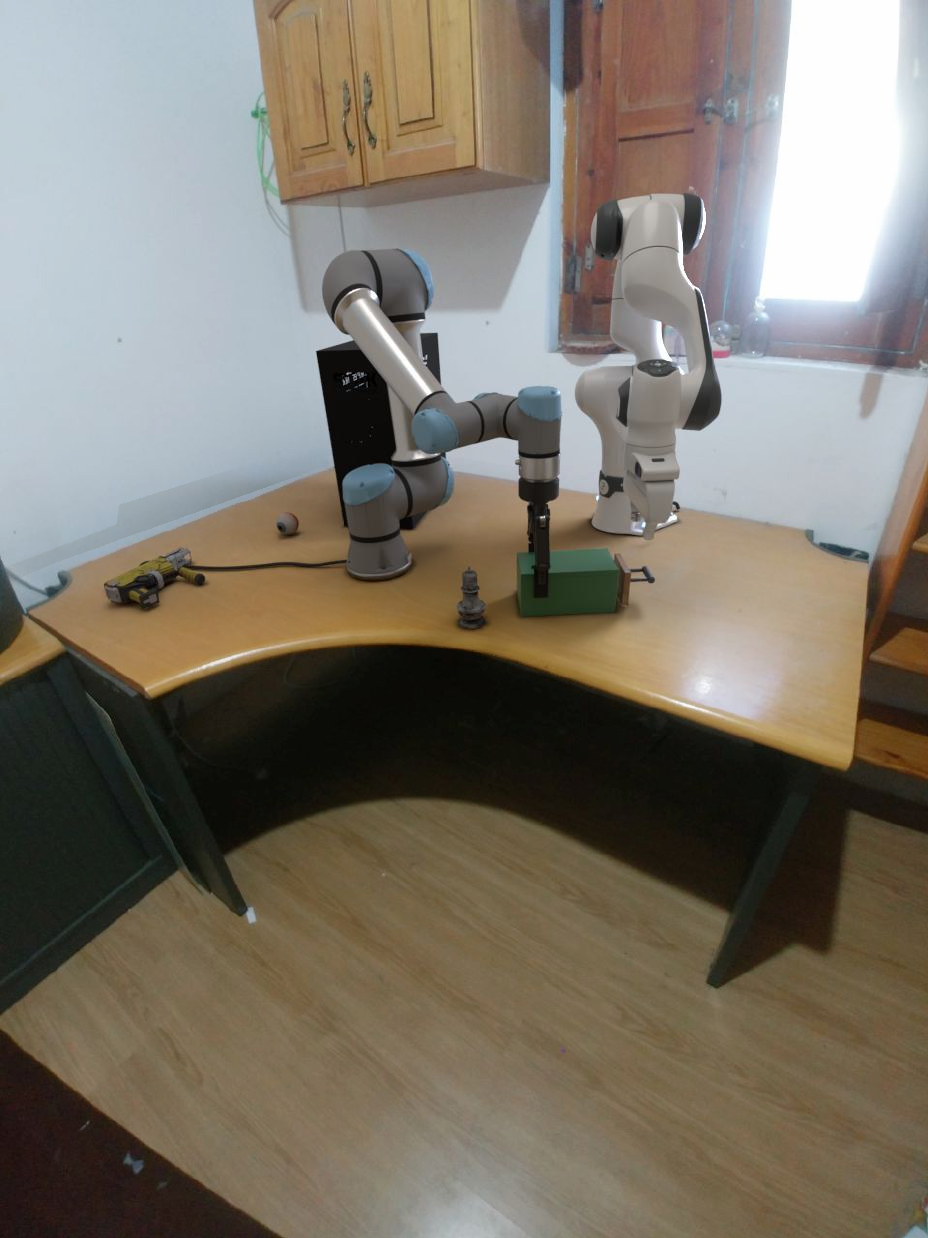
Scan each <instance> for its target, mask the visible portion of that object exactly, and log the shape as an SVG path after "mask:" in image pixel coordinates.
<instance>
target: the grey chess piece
mask: <svg viewBox="0 0 928 1238" xmlns="http://www.w3.org/2000/svg"><path fill="white" fill-rule="evenodd" d="M461 583H462V586H461V587H460V590H461V592H462V600H459V602H457V603H456V604H455V608H456V610H457V612H458V614H459V616H460V618H459V619H458V624H459V626H460V627H462V628H464V629H478V628H480V627H482V626H484V625H485V623H486V618H485V617H484V616H483V615H484V613H485V611H486V610H485V609H486V608H487V603H486V602H485V601H484V600H482V599H480V597H479V596H480V595H479V591H480V589H481V587H480V586H479V585H478V583H479V582H478V573H477V571H475V570H473V569H472V568H471V566H469V565H468V567H467V569H466V570H464V571H463V572H462V574H461Z"/></svg>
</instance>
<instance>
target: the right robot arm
mask: <svg viewBox="0 0 928 1238" xmlns="http://www.w3.org/2000/svg"><path fill="white" fill-rule="evenodd" d="M705 226H706V211H705V203H704V201H703V199H702V198H701V196H700V195H698V194H694V193H691V192H683V193H682V194H678V193H649V194H648V195H639V196H633V197H632V196H631V197H628V198H623V199H619V200H618V198H613V199H610V200H607V201H605V202H603V203H601V204H600V205H599V207H598V208H597V209H596V212H595V215H594V217H593V220H592V222H591V227H590V241H591V245H592V248H593V250H594V254H595V255H596V256H597V257H598V258H599V259H600V260H603V261H610V262H612V261H614V260H617V263H616V266H615V272H614V277H613V284H612V294H611V307H610V309H611V310H610V322H609V323H610V324H609V335H610V338H611V340H612V342H613V343H614V344H615V345H617V346H618V347H620V348H621V349H624V350H625V351H628V352H629V353H631V354H633V356H634V357H635V363H634V364H632V365H614V366H611V365H609V366H608V365H607V366H601V367H595V368H592V369H587V370H585V371H583V372H582V373H581V375H580V376H579V377H578V379H577V381H576V384H575V386H574V400H575V403H576V405H577V407H578V408H579V410H580V411H581V412H582V413H583V414H584V415H586V416H587V417H588V418H589V419H590V420H591V421H592V422H593V424H594V425H595V427H596V429H597V431H598V434H599V436H600V437H599V438H600V443H601V468H600V470H599V474H598V492H599V493H598V495H596V501H597V502H596V507H595V511H594V514H593V517H592V520H591V525H592V526H593V527H594V528H595V529H597V530H599V531H601V532H605V533H611V534H623V535H625V534H626V535H632V536H633V535H634V536H642V538H643V540H645V541H652V540H654V539H655V531H657V530H660V529H662V528H665V527H668V526H670V525H672V524H675V523H677V522H678V516H677V515H676V514H675V513H674V512H672V510H673V506H675V509H676V510H680V509H681V507H680V504H679V502H677V501H675V500H674V497H675V491H676V490H675V489H676V483H675V482H676V481H675V480H678V479H680V472H681V468H680V465H679V463H678V460H677V455H676V454H677V453H676V444H677V436H676V430H684V431H695V432H697V431H698V432H700V431H702V430H704V429H706V428H707V427H708V426H710V425H711V424H712V423H713V422H714V421H715V420H716V419H718V417H719V416H720V413H721V408H722V402H723V393H722V388H721V384H720V380H719V377H718V373H717V369H716V365H715V357H714V353H713V345H712V340H711V334H710V333H711V332H710V327H709V321H708V317H707V311H706V305H705V302H704V298H703V293H702V292H701V290H700V288H698V287H696V286H695V285H694V284H692V283H691V281H690V280H689V279H688V277H687V275H686V273H685V271H684V265H683V264H684V263H683V262H684V261H683V257H684V256H686V255H688V254H690V253H691V252H692V251H693V250H694V249H696V247H698V245H699V243H700V241H701V238H702V235H703V233H704V230H705ZM662 323H663V324H665V325H667V326H669V327H671V328H673V329H674V330H676V332H678V333H679V334H680V336H681V337H682V340H683V343H684V344H683V346H684V350H685V351H684V352H685V357H686V364H687V369H688V372H687V373H685V372H684V370H683V369H681V366H680V364H678V363H677V362H675V361H674V360H672V358H671V357H670V356H669V354H668V352H667V350H666V347H665V345H664V342H663V341H664V340H663V336H662V334H663V333H662Z"/></svg>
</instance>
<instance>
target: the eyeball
mask: <svg viewBox="0 0 928 1238" xmlns="http://www.w3.org/2000/svg"><path fill="white" fill-rule="evenodd" d="M299 525H300V522H299V519H298V517H297V516H296V515H295V514H294V513H292V512H287V511H286V512H282V513H280V514H279V515H278V516H277V517H276V520H275V527H276V529H277V530H278V531H279V532H280V533H281V534H282V535H285V536H286V535H287V536H289V535H293V534H295V533H296V532H297V531H298V529H299Z"/></svg>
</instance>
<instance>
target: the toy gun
mask: <svg viewBox="0 0 928 1238" xmlns="http://www.w3.org/2000/svg"><path fill="white" fill-rule="evenodd" d="M188 555H189V557H190V559H188V558H185V557H186V556H188ZM148 561H149V562H147V563H145V564H143V565H141V566H139V565H138V566H137V567H134V568H132V569H130V570H128V571H126V572H124V573H122V574H119V575H117V576H115V577H113V578H111V579H109V580H107V581H105V582H104V583H103V587H104V590H105V595H106V598H107V600H108V601H110V603H112V604H113V603H114V604H115V605H116V604H118V603H119V604H120V603H121V604H126V603H131V602H137V603H139V604H140V608H141V610H146V609H148V608H150V607H152V606H155V605H157V604H160V597H159V593H158V591H159V590H161V589H163V588H164V587H165V583H168V582H170V581H172V580H175V579H177V577H181V578H183V579H185V580H188V581H190V582H193V583H195V584H196V585H202V584H204V583H205V582H206V576H205V575H204V574H203V573H200V572H197V571H194V570H192V569H191V568H184V567H182V566H183V565H184V564H185V565H189V564H191V563H192V562H193V558H192V553H191V550H190V549H189V548H188V547H187V548H186V547H185V548H184V547H183V546H180V547H178V548H177V549H174V550H172V551H171V552H168V553H166V554H164V555H159V556H158V557H156V558H153V559H151V560H148Z"/></svg>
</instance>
